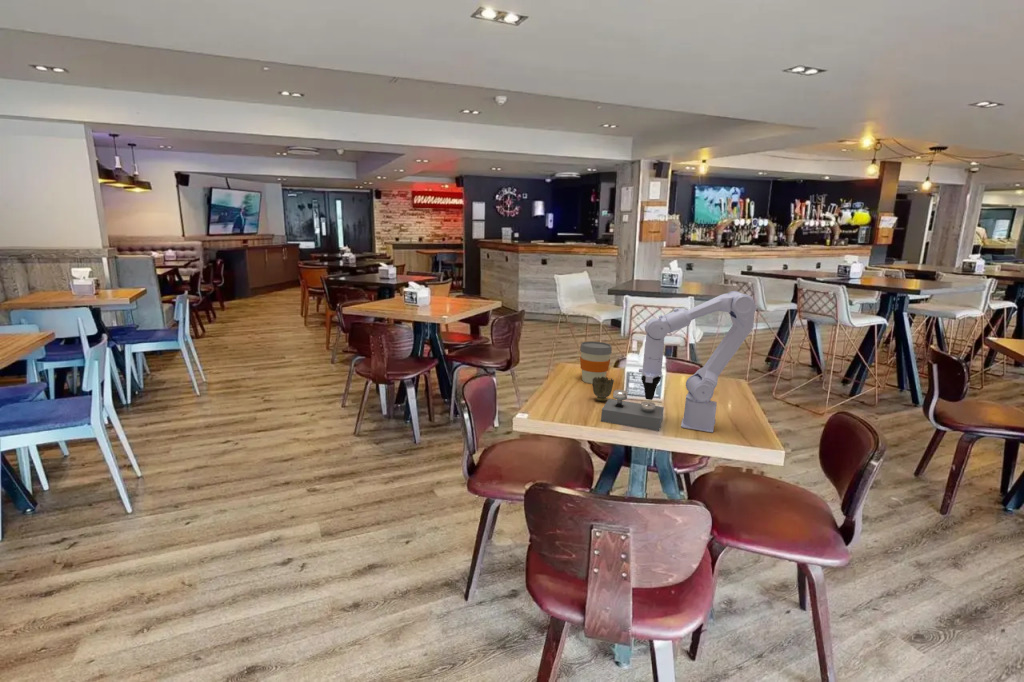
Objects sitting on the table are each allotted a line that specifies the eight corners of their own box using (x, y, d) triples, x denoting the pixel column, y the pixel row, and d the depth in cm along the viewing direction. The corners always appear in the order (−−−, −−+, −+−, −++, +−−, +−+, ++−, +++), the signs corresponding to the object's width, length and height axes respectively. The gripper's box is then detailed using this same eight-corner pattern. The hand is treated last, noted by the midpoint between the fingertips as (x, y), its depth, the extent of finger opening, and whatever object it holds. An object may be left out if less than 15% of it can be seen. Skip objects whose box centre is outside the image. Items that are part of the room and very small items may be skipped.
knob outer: (627, 404, 169) (628, 391, 168) (625, 408, 165) (626, 394, 164) (613, 402, 171) (614, 389, 170) (611, 406, 167) (612, 392, 166)
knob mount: (662, 418, 170) (663, 407, 169) (659, 431, 159) (660, 418, 158) (607, 409, 176) (608, 398, 175) (600, 421, 165) (601, 409, 164)
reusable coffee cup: (611, 385, 204) (615, 348, 201) (580, 384, 204) (582, 347, 201) (605, 377, 217) (608, 342, 214) (575, 375, 216) (578, 340, 213)
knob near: (654, 416, 167) (656, 402, 166) (653, 420, 163) (654, 406, 162) (640, 414, 168) (642, 400, 167) (639, 418, 164) (640, 404, 163)
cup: (586, 399, 186) (588, 378, 184) (600, 396, 191) (601, 375, 189) (602, 405, 180) (604, 383, 179) (616, 401, 185) (618, 380, 184)
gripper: (643, 351, 169) (639, 391, 172) (637, 360, 156) (633, 403, 159) (665, 353, 167) (661, 394, 170) (661, 363, 154) (656, 407, 157)
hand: (649, 399), depth 164 cm, fingers closed
